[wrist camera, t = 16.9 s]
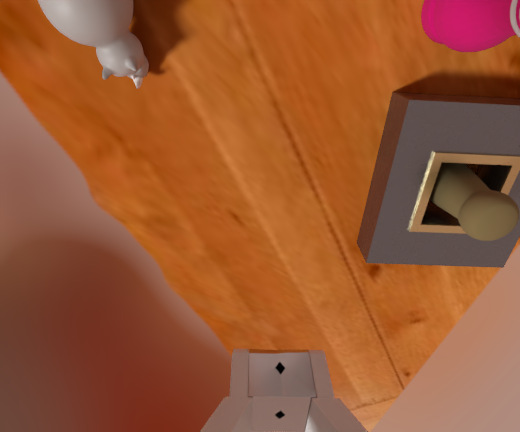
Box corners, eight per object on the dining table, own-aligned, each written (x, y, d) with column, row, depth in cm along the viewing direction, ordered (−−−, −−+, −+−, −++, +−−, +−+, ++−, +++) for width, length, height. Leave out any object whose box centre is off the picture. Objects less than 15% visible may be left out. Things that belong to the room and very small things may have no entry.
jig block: (392, 91, 36) (410, 100, 32) (551, 100, 37) (589, 109, 33) (356, 242, 46) (366, 264, 42) (482, 247, 47) (504, 268, 43)
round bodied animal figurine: (114, 71, 37) (97, 116, 32) (35, -60, 28) (-7, -27, 23) (174, 55, 37) (167, 98, 31) (113, -87, 27) (88, -59, 22)
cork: (478, 170, 41) (546, 213, 31) (443, 208, 44) (496, 258, 34) (442, 147, 40) (501, 186, 30) (408, 188, 42) (453, 235, 33)
